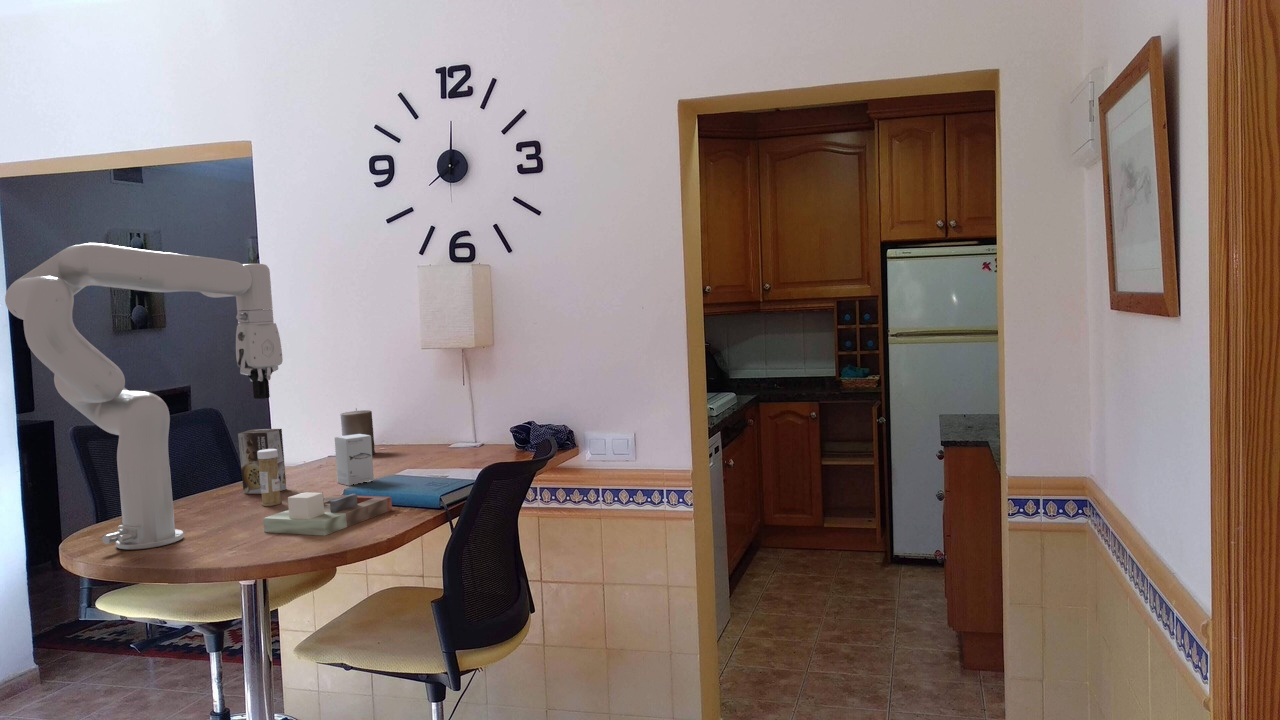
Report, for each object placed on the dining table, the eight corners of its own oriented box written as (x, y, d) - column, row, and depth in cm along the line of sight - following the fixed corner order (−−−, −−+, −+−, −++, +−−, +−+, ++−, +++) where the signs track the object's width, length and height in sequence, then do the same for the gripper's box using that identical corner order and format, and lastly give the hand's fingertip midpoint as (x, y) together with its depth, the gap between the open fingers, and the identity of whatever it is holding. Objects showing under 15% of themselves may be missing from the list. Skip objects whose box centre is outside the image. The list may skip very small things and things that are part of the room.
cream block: (308, 519, 198) (307, 498, 198) (289, 518, 200) (287, 497, 199) (324, 513, 203) (322, 492, 202) (305, 512, 204) (303, 492, 204)
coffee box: (287, 489, 249) (283, 428, 247) (272, 494, 242) (267, 432, 241) (258, 488, 251) (253, 428, 250) (241, 493, 245) (237, 432, 244)
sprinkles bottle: (283, 504, 229) (279, 449, 228) (263, 507, 226) (259, 452, 225) (279, 501, 233) (274, 447, 232) (259, 504, 230) (255, 450, 229)
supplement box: (348, 486, 248) (345, 438, 247) (336, 483, 254) (333, 436, 253) (374, 481, 253) (371, 435, 252) (362, 478, 258) (359, 432, 258)
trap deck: (325, 535, 196) (323, 509, 195) (264, 531, 201) (262, 506, 201) (391, 509, 217) (390, 486, 217) (335, 507, 223) (333, 484, 222)
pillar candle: (381, 453, 301) (378, 406, 301) (357, 458, 293) (354, 410, 292) (360, 452, 307) (357, 406, 306) (336, 457, 298) (333, 409, 297)
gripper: (243, 319, 207) (250, 402, 208) (291, 316, 221) (297, 394, 222) (217, 320, 210) (224, 402, 211) (266, 317, 223) (272, 394, 225)
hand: (261, 398), depth 216 cm, fingers closed
